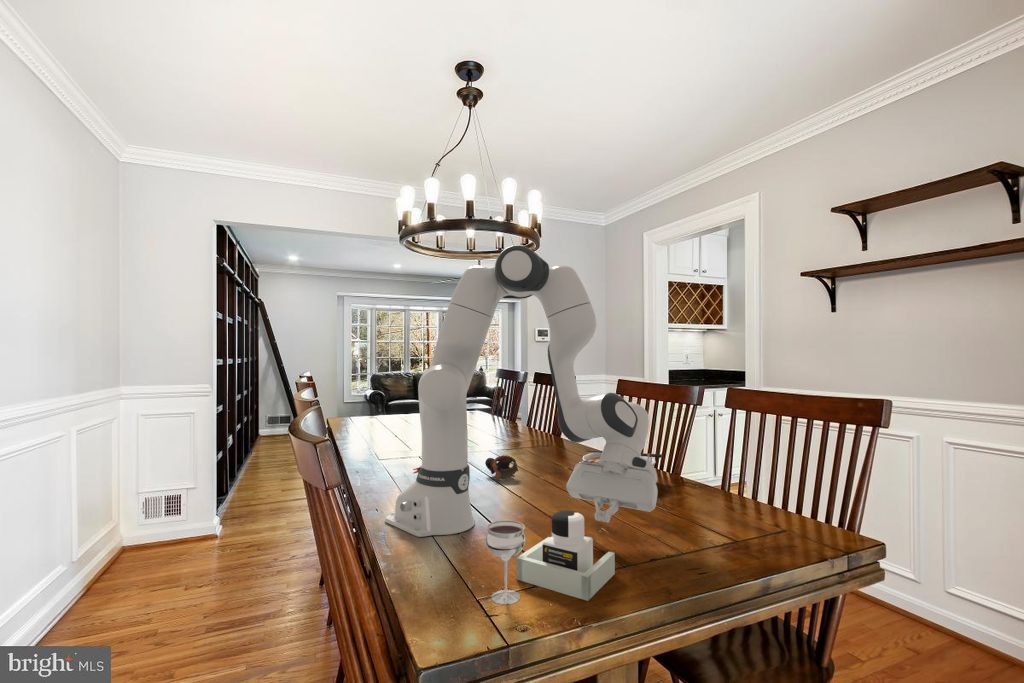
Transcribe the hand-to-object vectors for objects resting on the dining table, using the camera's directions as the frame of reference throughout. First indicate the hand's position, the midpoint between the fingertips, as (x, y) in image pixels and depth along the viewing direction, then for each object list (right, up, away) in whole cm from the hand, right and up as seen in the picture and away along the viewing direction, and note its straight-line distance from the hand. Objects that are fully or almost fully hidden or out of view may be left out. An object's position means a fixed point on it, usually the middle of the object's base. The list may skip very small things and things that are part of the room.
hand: (601, 520), depth 107 cm
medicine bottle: (-9, -6, -15) cm, 18 cm away
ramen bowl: (+15, -6, +51) cm, 53 cm away
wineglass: (-20, -6, -21) cm, 30 cm away
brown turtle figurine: (-23, -6, +57) cm, 61 cm away
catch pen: (-9, -6, -14) cm, 18 cm away
